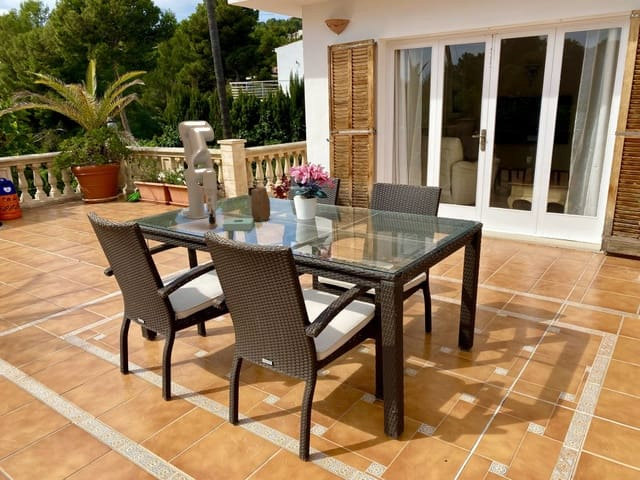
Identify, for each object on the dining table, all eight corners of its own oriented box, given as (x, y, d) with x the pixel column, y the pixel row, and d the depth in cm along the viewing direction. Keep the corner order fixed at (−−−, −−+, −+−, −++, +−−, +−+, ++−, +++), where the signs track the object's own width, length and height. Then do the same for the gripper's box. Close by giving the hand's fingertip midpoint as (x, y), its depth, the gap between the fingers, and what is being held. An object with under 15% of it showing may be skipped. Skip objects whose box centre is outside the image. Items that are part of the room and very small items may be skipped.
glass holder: (252, 208, 340) (251, 186, 336) (271, 209, 335) (270, 187, 331) (246, 211, 332) (245, 188, 328) (265, 212, 327) (264, 189, 323)
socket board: (223, 231, 280) (222, 224, 279) (226, 225, 293) (226, 218, 292) (251, 230, 280) (251, 223, 279) (253, 224, 294) (253, 217, 293)
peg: (209, 228, 285) (208, 211, 283) (210, 227, 289) (209, 210, 286) (215, 228, 285) (214, 211, 283) (216, 227, 289) (215, 210, 286)
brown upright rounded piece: (258, 222, 298) (256, 189, 293) (250, 220, 303) (249, 188, 298) (272, 219, 306) (270, 187, 300) (264, 217, 311) (263, 186, 305)
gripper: (214, 193, 273) (217, 226, 278) (219, 189, 289) (221, 219, 294) (201, 194, 273) (203, 226, 278) (206, 189, 289) (208, 219, 294)
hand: (212, 222), depth 286 cm, fingers closed on peg, 3 cm apart
